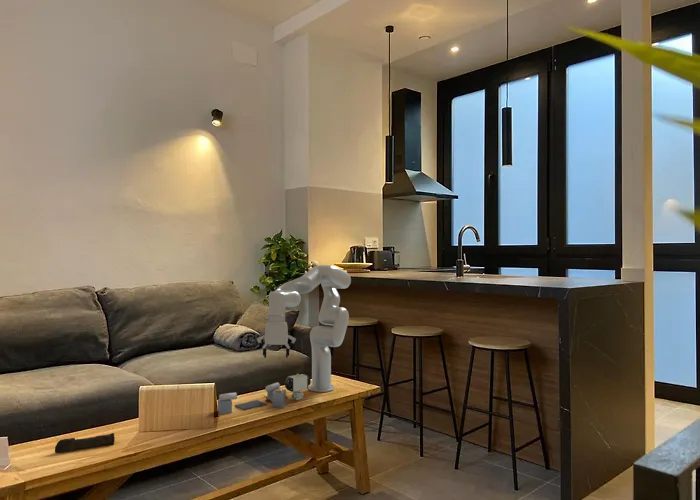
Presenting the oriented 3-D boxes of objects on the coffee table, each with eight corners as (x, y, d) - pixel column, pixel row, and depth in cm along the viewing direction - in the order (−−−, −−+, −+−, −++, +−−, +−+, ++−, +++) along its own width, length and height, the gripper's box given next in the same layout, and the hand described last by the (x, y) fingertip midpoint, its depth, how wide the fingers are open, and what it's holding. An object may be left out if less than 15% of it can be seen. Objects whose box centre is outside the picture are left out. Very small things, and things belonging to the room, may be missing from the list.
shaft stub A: (274, 397, 250) (274, 381, 250) (282, 399, 247) (282, 382, 247) (263, 401, 244) (263, 385, 244) (271, 403, 241) (271, 386, 241)
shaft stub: (234, 408, 234) (234, 391, 234) (237, 411, 229) (237, 393, 229) (217, 411, 230) (217, 393, 230) (220, 414, 226) (220, 396, 226)
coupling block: (274, 404, 239) (274, 388, 239) (285, 405, 239) (285, 388, 239) (272, 408, 234) (272, 391, 234) (283, 408, 234) (283, 391, 234)
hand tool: (114, 442, 194) (114, 429, 194) (114, 445, 191) (114, 432, 191) (55, 451, 186) (55, 438, 186) (55, 455, 182) (54, 442, 182)
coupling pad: (257, 401, 245) (257, 399, 245) (267, 405, 239) (267, 403, 239) (234, 406, 237) (234, 405, 237) (243, 410, 231) (243, 409, 231)
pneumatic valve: (310, 398, 250) (310, 372, 249) (289, 402, 242) (289, 376, 242) (304, 395, 254) (304, 370, 254) (283, 399, 247) (283, 374, 247)
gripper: (256, 319, 233) (255, 358, 232) (296, 320, 234) (295, 358, 234) (258, 318, 240) (257, 355, 240) (296, 318, 242) (295, 355, 241)
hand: (276, 357), depth 237 cm, fingers open, 9 cm apart
